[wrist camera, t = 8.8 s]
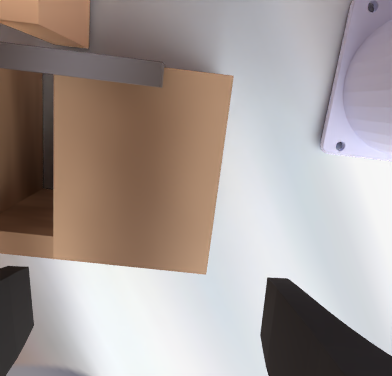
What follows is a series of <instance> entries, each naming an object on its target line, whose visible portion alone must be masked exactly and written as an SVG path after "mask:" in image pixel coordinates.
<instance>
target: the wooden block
mask: <svg viewBox="0 0 392 376" xmlns="http://www.w3.org/2000/svg"><path fill="white" fill-rule="evenodd" d="M42 73H45V74H53V75H54V177H53V189H45V188H43V83H42ZM232 84H233V76H230V75H222V74H214V73H206V72H198V71H190V70H182V69H174V68H165V67H164V63H163V62H158V61H150V60H142V59H134V58H126V57H117V56H109V55H101V54H93V53H85V52H77V51H69V50H61V49H53V48H45V47H37V46H29V45H21V44H13V43H5V42H0V253H2V254H12V255H22V256H31V257H41V258H51V259H61V260H70V261H80V262H90V263H99V264H109V265H119V266H129V267H138V268H148V269H158V270H168V271H177V272H187V273H197V274H206V271H207V264H208V256H209V249H210V242H211V235H212V228H213V220H214V213H215V206H216V199H217V192H218V184H219V177H220V170H221V163H222V156H223V148H224V141H225V134H226V127H227V120H228V112H229V105H230V98H231V91H232Z"/></svg>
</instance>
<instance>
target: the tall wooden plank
mask: <svg viewBox="0 0 392 376" xmlns="http://www.w3.org/2000/svg"><path fill="white" fill-rule="evenodd" d="M89 19H90V0H0V23H2V24H4V25H7V26H9V27H12V28H14V29H17V30H19V31H22V32H24V33H27V34H29V35H32V36H34V37H37V38H39V39H42V40H44V41H47V42H49V43H52V44H54V45H62V46H70V47H78V48H86V49H89Z"/></svg>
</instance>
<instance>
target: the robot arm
mask: <svg viewBox="0 0 392 376" xmlns="http://www.w3.org/2000/svg"><path fill="white" fill-rule="evenodd" d="M369 3H372V4H373V5H374V11H373V12H370V11H369V10H368V4H369ZM338 142H341V143H342V147H341V149H339V150H337V149H336V144H337V143H338ZM320 147H321V150H322V151H323V152H325V153H328V154H333V155H342V156H350V157H359V158H368V159H376V160H385V161H392V0H353V1H352V3H351V5H350V9H349V14H348V18H347V23H346V28H345V32H344V37H343V41H342V46H341V51H340V55H339V60H338V65H337V69H336V74H335V78H334V83H333V88H332V92H331V97H330V101H329V106H328V111H327V115H326V120H325V125H324V129H323V134H322V138H321V143H320ZM33 326H34V321H33V310H32V300H31V289H30V278H29V267H18V266H7V267H4V268H0V376H6V374H7V373H8V371H9V370H10V368H11V367H12V365H13V364H14V362H15V361H16V359H17V358H18V356H19V354H20V352H21V350H22V348H23V346H24V345H25V343H26V341H27V339H28V337H29V334H30V332H31V330H32V328H33ZM260 335H261V341H262V347H263V353H264V358H265V363H266V368H267V372H268V375H269V376H392V356H391V355H389V354H387V353H386V352H384V351H383V350H381V349H380V348H378V347H377V346H375V345H374V344H372V343H371V342H369V341H368V340H367V339H365V338H364V337H362V336H361V335H360V334H358V333H357V332H355V331H354V330H352V329H351V328H350V327H348V326H347V325H346V324H344V323H343V322H342V321H340V320H339V319H338V318H337V317H335V316H334V315H333V314H331V313H330V312H329V311H328V310H326V309H325V308H324V307H323V306H321V305H320V304H319V303H318V302H316V301H315V300H314V299H313V298H312V297H310V296H309V295H308V294H307V293H305V292H304V291H303V290H302V289H301V288H299V287H298V286H297V285H296V284H294V283H293V282H292V281H290V280H289V279H286V278H267V285H266V294H265V302H264V310H263V318H262V326H261V334H260Z"/></svg>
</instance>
